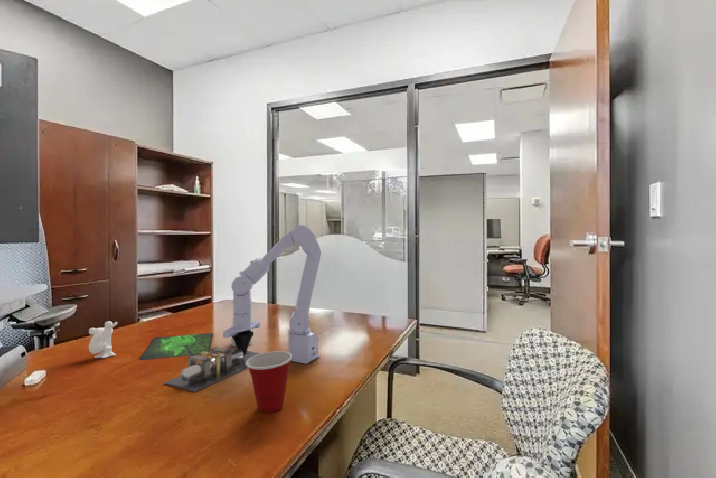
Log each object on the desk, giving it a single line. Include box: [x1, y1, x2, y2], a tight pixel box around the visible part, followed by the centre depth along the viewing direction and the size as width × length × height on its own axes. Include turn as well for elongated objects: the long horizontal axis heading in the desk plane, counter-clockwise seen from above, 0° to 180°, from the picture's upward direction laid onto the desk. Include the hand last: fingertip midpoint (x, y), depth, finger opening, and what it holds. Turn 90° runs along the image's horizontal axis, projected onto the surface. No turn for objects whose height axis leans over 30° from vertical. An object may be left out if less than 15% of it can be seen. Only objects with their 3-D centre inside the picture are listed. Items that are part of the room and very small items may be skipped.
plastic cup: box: [245, 350, 292, 414], centre depth 88 cm, size 11×11×12 cm
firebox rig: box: [163, 346, 262, 393], centre depth 113 cm, size 12×31×6 cm, turn 154°
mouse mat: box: [138, 332, 214, 361], centre depth 137 cm, size 27×22×1 cm
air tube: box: [180, 348, 243, 381], centre depth 110 cm, size 20×3×4 cm, turn 154°
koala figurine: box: [88, 320, 118, 359], centre depth 124 cm, size 8×7×12 cm
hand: (242, 354), depth 120 cm, fingers closed
